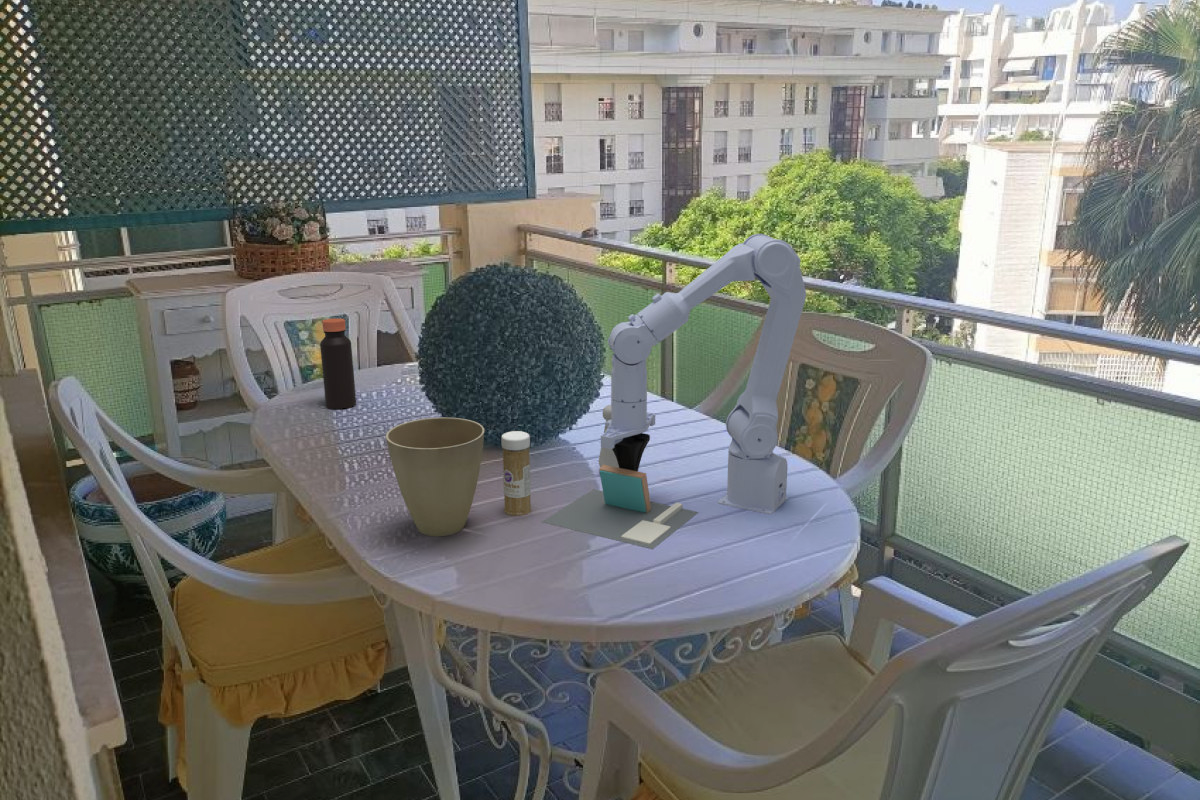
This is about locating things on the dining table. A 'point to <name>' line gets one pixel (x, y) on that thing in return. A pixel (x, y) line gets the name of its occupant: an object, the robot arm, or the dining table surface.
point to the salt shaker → (607, 454)
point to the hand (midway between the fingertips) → (628, 477)
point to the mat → (613, 518)
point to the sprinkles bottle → (516, 473)
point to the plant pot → (437, 470)
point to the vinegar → (337, 365)
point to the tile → (625, 488)
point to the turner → (652, 527)
